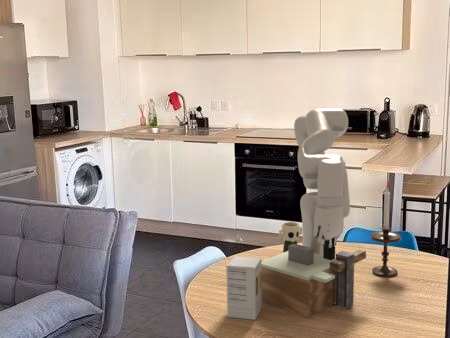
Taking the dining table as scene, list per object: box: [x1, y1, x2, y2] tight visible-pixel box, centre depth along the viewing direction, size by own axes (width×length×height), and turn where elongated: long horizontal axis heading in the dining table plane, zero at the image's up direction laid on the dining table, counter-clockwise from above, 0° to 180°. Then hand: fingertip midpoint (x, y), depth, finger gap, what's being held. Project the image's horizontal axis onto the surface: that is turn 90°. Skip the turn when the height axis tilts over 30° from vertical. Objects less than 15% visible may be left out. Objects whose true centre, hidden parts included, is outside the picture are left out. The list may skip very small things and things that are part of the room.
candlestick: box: [370, 179, 402, 278], centre depth 205 cm, size 11×11×35 cm
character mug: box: [278, 221, 303, 253], centre depth 230 cm, size 11×7×13 cm, turn 115°
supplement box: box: [225, 256, 263, 321], centre depth 175 cm, size 10×9×17 cm
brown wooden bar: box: [329, 248, 367, 272], centre depth 180 cm, size 17×3×2 cm, turn 136°
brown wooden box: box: [261, 250, 355, 318], centre depth 183 cm, size 20×26×17 cm
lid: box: [261, 243, 336, 283], centre depth 182 cm, size 20×25×6 cm
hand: (329, 258), depth 172 cm, fingers closed
